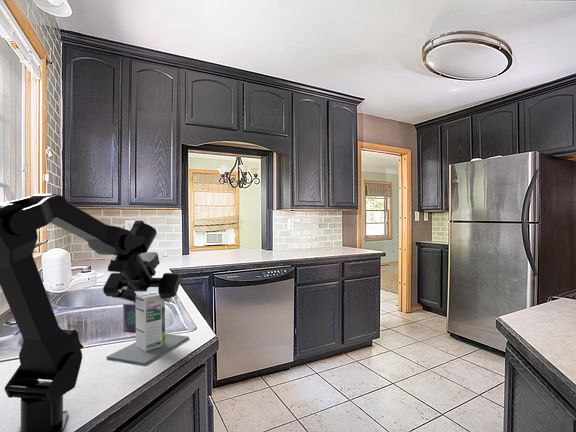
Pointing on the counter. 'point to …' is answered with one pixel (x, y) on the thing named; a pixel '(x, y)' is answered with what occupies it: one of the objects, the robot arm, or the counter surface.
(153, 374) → the counter surface
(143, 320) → the syrup box
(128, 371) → the counter surface
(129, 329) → the flask
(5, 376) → the counter surface
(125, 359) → the slate mat
